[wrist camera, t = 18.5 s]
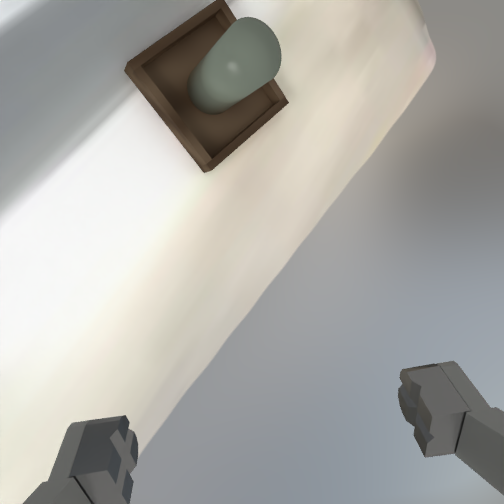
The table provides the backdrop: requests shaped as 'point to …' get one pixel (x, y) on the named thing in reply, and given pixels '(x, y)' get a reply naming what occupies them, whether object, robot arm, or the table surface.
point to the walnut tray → (176, 94)
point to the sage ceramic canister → (235, 66)
